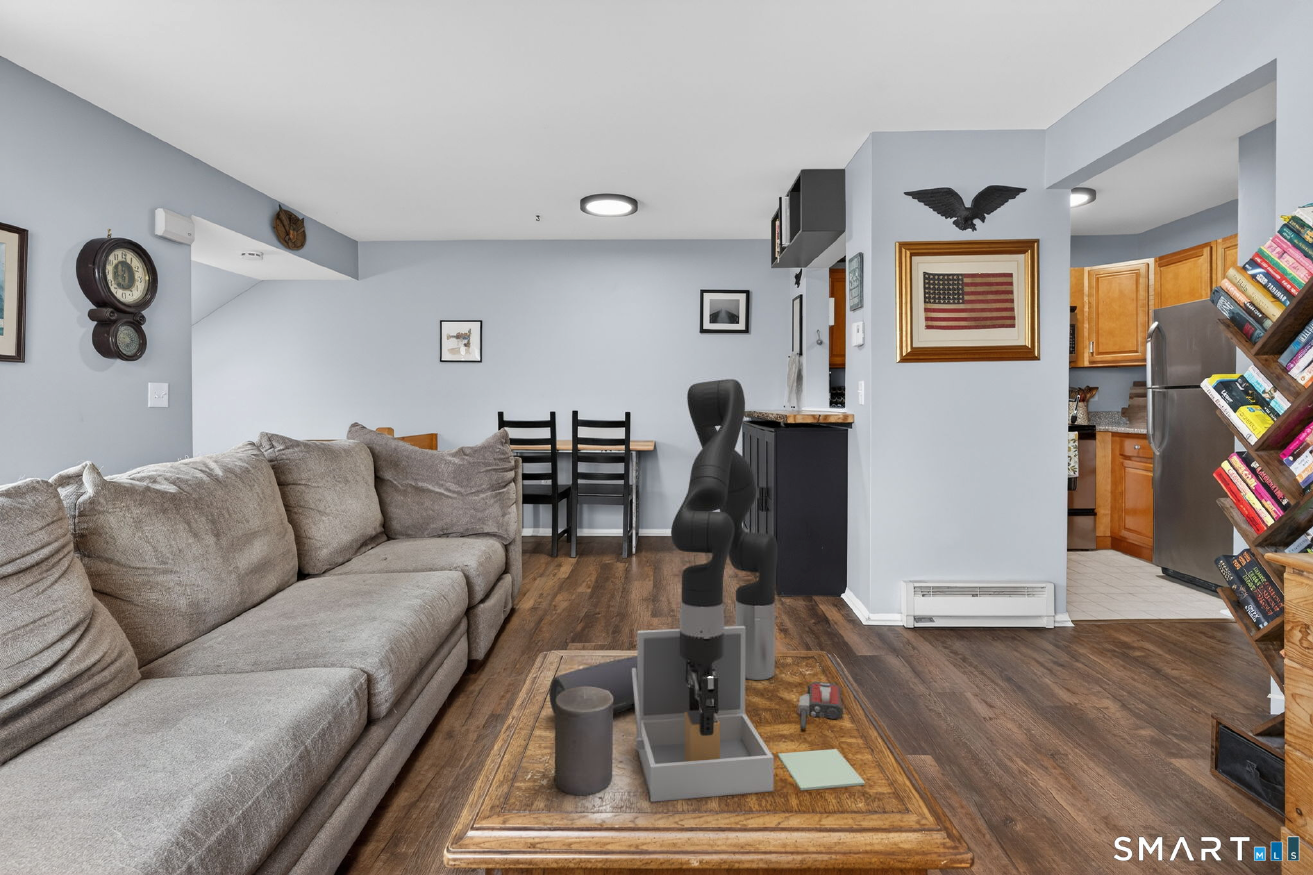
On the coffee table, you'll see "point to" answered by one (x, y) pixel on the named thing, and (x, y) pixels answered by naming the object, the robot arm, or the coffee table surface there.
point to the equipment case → (664, 723)
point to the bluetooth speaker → (600, 681)
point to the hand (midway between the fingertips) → (700, 722)
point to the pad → (820, 769)
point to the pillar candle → (583, 740)
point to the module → (700, 739)
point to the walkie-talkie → (821, 702)
